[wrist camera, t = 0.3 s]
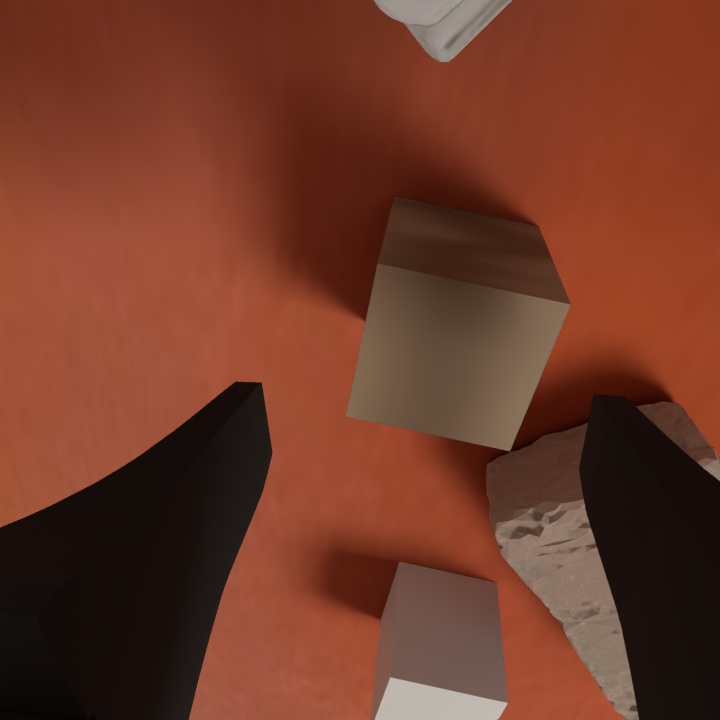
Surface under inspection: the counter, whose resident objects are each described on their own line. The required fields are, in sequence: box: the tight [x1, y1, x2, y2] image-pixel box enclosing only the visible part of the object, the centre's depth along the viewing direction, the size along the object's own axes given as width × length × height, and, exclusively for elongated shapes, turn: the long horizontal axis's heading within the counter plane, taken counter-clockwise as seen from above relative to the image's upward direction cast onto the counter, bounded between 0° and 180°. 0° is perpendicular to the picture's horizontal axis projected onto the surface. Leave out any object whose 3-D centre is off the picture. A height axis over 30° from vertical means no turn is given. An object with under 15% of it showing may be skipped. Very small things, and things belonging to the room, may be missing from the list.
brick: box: [486, 401, 720, 720], centre depth 25 cm, size 17×8×5 cm, turn 32°
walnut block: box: [346, 196, 571, 451], centre depth 19 cm, size 5×5×6 cm
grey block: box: [371, 562, 508, 720], centre depth 28 cm, size 5×5×6 cm
